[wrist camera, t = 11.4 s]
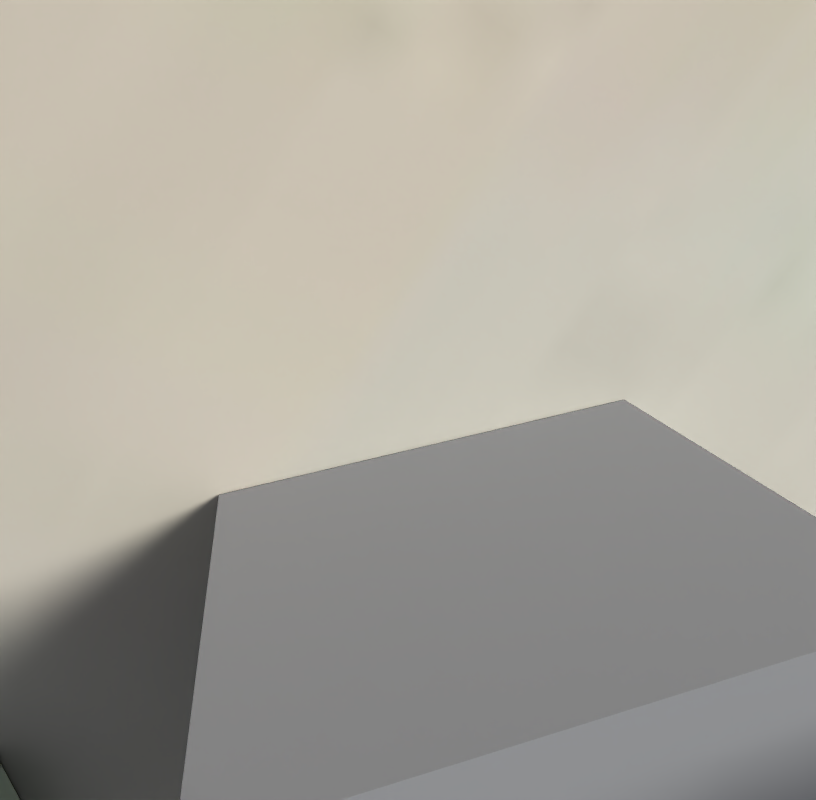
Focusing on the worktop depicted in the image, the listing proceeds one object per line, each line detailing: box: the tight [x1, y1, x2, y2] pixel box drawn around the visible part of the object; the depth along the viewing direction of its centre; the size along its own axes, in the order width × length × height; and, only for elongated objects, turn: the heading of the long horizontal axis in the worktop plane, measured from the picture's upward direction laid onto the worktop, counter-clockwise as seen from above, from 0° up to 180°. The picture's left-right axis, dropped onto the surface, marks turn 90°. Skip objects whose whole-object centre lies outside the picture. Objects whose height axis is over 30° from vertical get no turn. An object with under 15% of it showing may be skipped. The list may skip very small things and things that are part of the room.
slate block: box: [180, 400, 816, 800], centre depth 8 cm, size 6×6×5 cm
